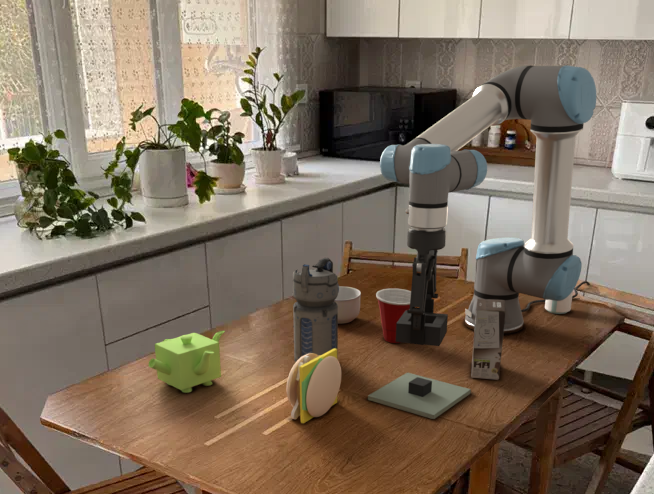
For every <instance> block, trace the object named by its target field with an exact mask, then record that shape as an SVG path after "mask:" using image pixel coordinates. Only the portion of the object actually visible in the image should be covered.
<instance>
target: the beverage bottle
mask: <svg viewBox="0 0 654 494" xmlns="http://www.w3.org/2000/svg"><path fill="white" fill-rule="evenodd" d="M311 267H312V268H313V269H311V268H310V264H304V263H303V265H302V267H301V271H299V270H298V269H299V268H296V269H294V270H293V273H292V296H293V298H294V299H295V301H296V302H294V303H293V305H292V307H293V308H292V309H293V310H292V311H293V348H294V349H293V357H294V359H293V361H294V362H295V363H296V361H297V360H298V359H299V358H301V357H302V356H304V355H306V354H309V353H314V354H317V355H322V354H324V353H326V352H328V351H330V350H332V349H334V348H335V349H337V360H338V361H339V358H338V357H339V343H338V342H339V330H338V329H339V325H338V324H339V323H338V304H337V303H336V302H335V299H336V298H337V296H338V293H339V287H340V284H339V281H338V275H337V274H336V273H335V272H334V262H333V261H332V260H331V259H330V258H329V257H322V258H321V259H319V260H318V262H317V263H316V264H313V265H311Z"/></svg>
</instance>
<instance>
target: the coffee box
mask: <svg viewBox="0 0 654 494" xmlns="http://www.w3.org/2000/svg"><path fill="white" fill-rule="evenodd" d="M505 313H506V308H505V300H494V299H487V300H485V299H477V306H476V317H475V329H474V330H473V344H472V359H471V374H470V377H471V378H472V379H484V380H495V381H498V380H499V379H500V371H501V361H502V354H503V345H504V344H503V343H504V335H505V334H504V323H505Z"/></svg>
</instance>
